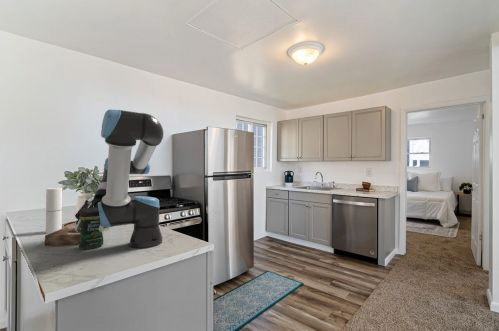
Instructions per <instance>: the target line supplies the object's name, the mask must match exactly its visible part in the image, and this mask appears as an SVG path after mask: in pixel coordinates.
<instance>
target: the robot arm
mask: <svg viewBox="0 0 499 331" xmlns="http://www.w3.org/2000/svg"><path fill="white" fill-rule="evenodd" d="M102 118H103V119H102V124H101V131H100V136H101V138H102V139H104V142H105V144H107V146H108V155H107V156H108V157H106V158H105V159H104V160H105V162H104V164H103V165H104V166H103V172H102V179H101V181H100V183H99V185H98V187H97V190H96V192H95V194H94V197H93V199H91V200H88V199H86V200H84V203H83V204H82V206H81V207H80V208H79V209H78V211H77V212H76V213H75V214H74V217H75V219H77V220H76V222H75V224H76V226H75V228H74V231H75V233H76V234H80V232H81V220H80V212H81V209H85V208H94V207H98V209H99V217H100V226H99V229H98V230H99V231H100V232H103V231H104V228H109V227H110V228H113V227H119V226H126V225H133V230H132V233H131V236H130V238H129V246H130V247H132V248H134V249H135V248H136V249H145V248H152V246H153V247H155V246H158V244H159V245H160V243H161V242H162V241H163V239H164V238H163V234H162V232H161V229H160V209H161V208H160V207H161V206H160V200H159V199H158V197H152V196H145V195H144V196H142V195H138V196H137V195H136V196H134V197H133V199H132V198H131V196H130V195H128V193H129V182H130V175H147V174H149V173H150V169H151V165H150V160H151V158H152V156H153V154H154V152H155V151H156V148H157V146H160V144H161V142H162V141H163V139H164V128H163V126H162V124H161V123H160V121H159V120H158V119H157V118H156V117H155V116H153V115H152V114H150V113H144V112H136V111H131V110H130V111H129V110H121V109H107V110H106V111H105V113H104V115H103V117H102ZM137 141H139V144H138V146H137V148H136V152H135V154H134V157H133V159H132V150H133V148H134V147H135V146H136V145H137ZM131 159H132V160H131ZM162 243H163V242H162ZM162 243H161V244H162Z"/></svg>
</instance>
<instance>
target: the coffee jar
mask: <svg viewBox="0 0 499 331" xmlns="http://www.w3.org/2000/svg"><path fill="white" fill-rule="evenodd" d="M93 207H94V206H93ZM80 220H81V229H80V233H81V234H80V233H79V234H80V241H79V245H78V247H79V249H80V250H90V249H96V248H100V247H102V246H103V245H104V233H103V231H102V232H100V231H99V230H98V229H99V226H100V217H99V209H98V207H94V208H89V207H88V208H85V209H81V212H80Z"/></svg>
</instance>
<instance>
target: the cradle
mask: <svg viewBox="0 0 499 331" xmlns="http://www.w3.org/2000/svg"><path fill="white" fill-rule="evenodd" d="M68 228H69V227H67V226H66V227H62V229H60V230H57V231H55V232H53V233H50V234H46V235H44V246H70V245H74V246H75V245H76V246H77V245H78V246H79V241H80V234H81V232H79V233H73V234H72V233H68V232H69V231H68V230H69V229H68Z"/></svg>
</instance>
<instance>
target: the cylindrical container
mask: <svg viewBox="0 0 499 331" xmlns="http://www.w3.org/2000/svg"><path fill="white" fill-rule="evenodd" d="M45 192H46V193H45V194H46V195H45V198H46V199H45V234H46V235H48V234H50V233H53V232H55V231H57V230H60V229H62V228H63V227H62V225H63V224H62V223H63V188H62V187H52V188H51V187H50V188H46V191H45Z"/></svg>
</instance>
